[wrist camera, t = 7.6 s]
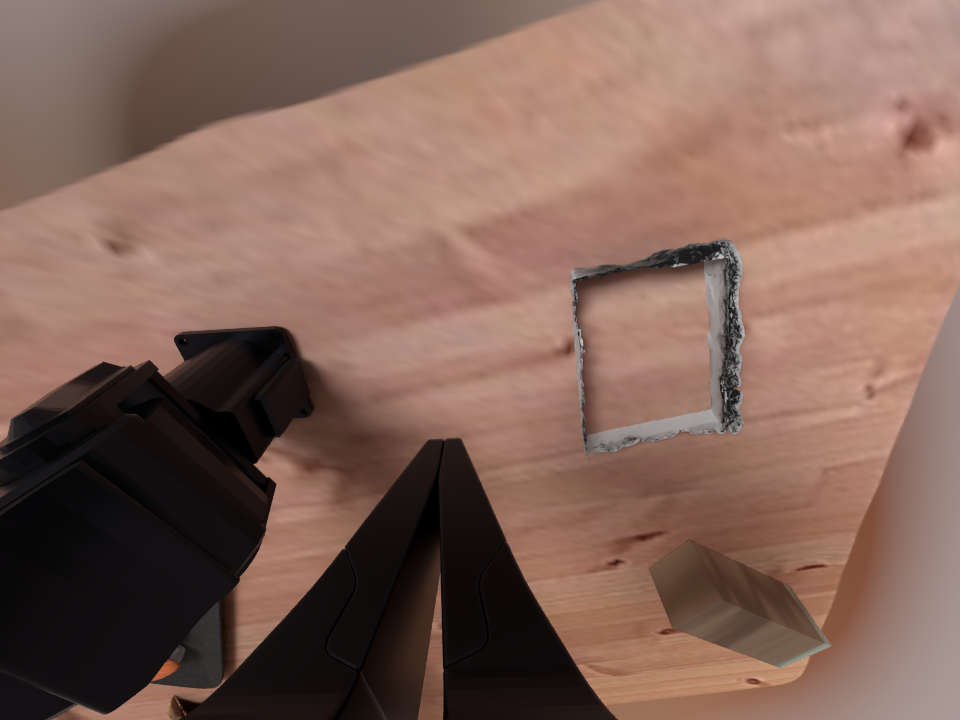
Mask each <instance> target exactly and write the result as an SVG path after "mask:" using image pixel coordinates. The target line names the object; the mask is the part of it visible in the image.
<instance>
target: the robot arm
mask: <svg viewBox="0 0 960 720" xmlns="http://www.w3.org/2000/svg"><path fill="white" fill-rule="evenodd" d="M274 333H276V334H278V335H279V338H278V337H276V336H275V335H274ZM184 339H185V340H186V341H187V342H188V343H187V342H185V341H184ZM174 341H175V344H176V346H177V348H178V349H179V351H180V353H181V355H182V357H183V359H184V362H183V363H182V364H180V365H179V366H178V367H176V368H175V369H173V370H172V371H171V372H169V373H168V374H167V375H165V376H164V377H163V376H162V375H161V374H160V373H159V372H158V370H159V369H158V368H157V367H156V366H155V365H154V364H153V363H152V362H151V361H150V360H148V361H146V362H144V363H141V364H139V365H137V366H135V367H132V366H131V365H130V366H128V367H125V366H123V367H120V366H117V365H113V364H109V363H106V362H103V363H100V364H98V365H96V366H94V367H92V368H91V369H89V370H87V371H85V372H84V373H82V374H80V375H79V376H77V377H75V378H73V379H72V380H70V381H68V382H66V383H65V384H63V385H61V386H60V387H58V388H56V389H55V390H53V391H52V392H50V393H48V394H47V395H45V396H44V397H42V398H41V399H40V400H38V401H37V402H35V403H34V404H32V405H31V406H29V407H28V408H26V409H25V410H24V411H22V412H21V413H19V414H18V415H16V416H15V417H13V418H12V419H11V422H10V427H9V432H8V436H7V438H5V439H4V440H3V441H2V442H1V443H0V720H51V719H53V718H54V717H56V716H58V715H60V714H62V713H63V712H65V711H67V710H69V709H71V708H72V707H74V706H76V705H78V704H79V705H81V706H84V707H86V708H89V709H91V710H94V711H96V712H98V713H101V714H108V713H110V712H112V711H114V710H116V709H117V708H118V707H120V706H121V705H122V704H124V703H125V702H126V701H128V700H129V699H130V698H132V697H133V696H134V695H136V694H137V693H138V692H140V691H141V690H142V689H144V688H145V687H146V686H147V685H148V684H149V683H150V682H151V681H152V680H153V678H154V677H155V676H156V675H157V673H158V672H159V671H160V669H161V668H162V667H163V665H164V664H165V663H166V661H167V660H168V659H169V657H170V656H171V655H172V653H173V652H174V651H175V650H176V648H177V647H178V646H179V644H180V643H181V642H182V641H183V639H184V638H185V637H186V636H187V634H188V633H189V632H190V631H191V629H192V628H193V627H194V626H195V625H196V624H197V623H198V622H199V621H200V619H201V618H202V617H203V616H204V615H205V614H206V613H207V612H208V611H209V610H210V609H211V608H212V607H213V606H214V605H215V604H216V603H217V602H218V601H219V600H220V599H222V598H223V597H224V596H225V595H226V594H227V593H228V592H230V591H231V590H232V589H233V588H234V587H235V586H236V585H237V584H238V583H239V581H240V578H239V577H240V576H241V575H242V574H243V573H244V572H245V570H246V569H247V568H248V566H249V565H250V564H251V562H252V561H253V559H254V558H255V556H256V554H257V552H258V550H259V548H260V545H261V543H262V539H263V538H264V536H265V532H266V524H267V520H268V516H269V512H270V508H271V504H272V500H273V496H274V492H275V488H276V483H275V482H274V481H273V480H272V479H271V478H270V477H268V478H267V477H266V476H265V475H264V474H263V473H262V472H261V471H260V470H259V469H258V468H257V467H255V466H254V465H253V464H255V463H257V462H258V460H259V459H260V458H261V456H262V455H263V453H264V452H265V450H266V449H267V447H268V446H269V445H270V443H271V442H272V440H273V439H274V437H280V436H281V435H282V434H283V432H284V431H285V429H286V428H287V427H288V425H289V424H290V422H291V421H292V419H293V418H306V417H309V416H311V414H312V412H313V410H314V407H313V405H312V402H311V399H310V396H309V394H310V392H309V389H308V386H307V383H306V381H305V378H304V375H303V372H302V370H301V367H300V364H299V362H298V360H297V359H296V358H295V355H294V353H293V350H292V347H291V344H290V342H289V339H288V336H287V333H286V332H285V330H284V329H282V328H281V327H278V326H271V327H255V328H238V329H222V330H206V331H189V332H181V333H180V334H178V335H177V336H175V337H174ZM303 409H306V410H307V411H305V410H303ZM345 549H346V550H345ZM345 549H343V550H342V551H341V552H340V553H339V555H338V556H337V557H336V558H335V560H334V561H333V562H332V564H331V565H330V566H329V567H328V569H327V570H326V571H325V572H324V573H323V575H322V576H321V577H320V578H319V580H318V581H317V582H316V583H315V584H314V586H313V587H312V588H311V589H310V590H309V591H308V592H307V594H306V595H305V596H304V597H303V598H302V599H301V600H300V601H299V603H298V604H297V605H296V606H295V607H294V608H293V609H292V610H291V612H290V613H289V614H288V615H287V616H286V617H285V618H284V619H283V620H282V621H281V622H280V623H279V624H278V626H277V627H276V628H275V629H274V630H273V631H272V632H271V633H270V634H269V635H268V636H267V637H266V638H265V640H264V641H263V642H262V643H261V644H260V645H259V646H258V647H257V648H256V649H255V650H254V651H253V652H252V654H251V655H250V656H249V657H248V658H247V659H246V660H245V661H244V662H243V663H242V664H241V665H240V666H239V668H238V669H237V670H236V671H235V672H234V673H233V674H232V675H231V676H230V677H229V678H228V679H227V680H226V681H225V682H224V683H223V684H222V685H221V686H220V687H219V688H218V689H217V690H216V691H215V692H214V693H213V694H212V695H210V696H209V697H208V698H207V699H206V700H205V701H203V702H202V703H201V704H200V705H198V706H197V707H196V708H195V709H193V710H192V711H191V712H189V713H188V714H187V715H185V716H184V717H182V718H181V719H179V720H418V714H419V707H420V701H421V694H422V688H423V681H424V674H425V668H426V661H427V655H428V648H429V642H430V635H431V629H432V622H433V616H434V609H435V602H436V596H437V589H438V583H439V576H440V570H441V605H442V643H443V669H444V673H443V681H444V712H443V720H618V719H617V718H616V717H615V716H614V715H613V714H612V713H611V712H610V711H609V710H608V709H607V707H606V706H605V705H604V704H603V703H602V701H601V700H600V699H599V697H598V696H597V695H596V693H595V692H594V691H593V689H592V688H591V687H590V685H589V684H588V682H587V681H586V679H585V678H584V676H583V675H582V673H581V672H580V670H579V669H578V667H577V666H576V664H575V662H574V661H573V659H572V657H571V656H570V654H569V653H568V651H567V649H566V648H565V646H564V644H563V643H562V641H561V639H560V638H559V636H558V635H557V633H556V631H555V630H554V628H553V626H552V625H551V623H550V621H549V620H548V618H547V617H546V615H545V613H544V612H543V610H542V608H541V607H540V605H539V604H538V602H537V600H536V598H535V596H534V595H533V593H532V591H531V589H530V588H529V586H528V584H527V582H526V581H525V579H524V577H523V575H522V572H521V570H520V568H519V566H518V564H517V562H516V560H515V558H514V556H513V554H512V551H511V549H510V547H509V545H508V543H507V541H506V538H505V536H504V534H503V532H502V529H501V527H500V525H499V523H498V520H497V518H496V516H495V513H494V511H493V509H492V507H491V504H490V502H489V500H488V498H487V495H486V493H485V491H484V489H483V486H482V484H481V482H480V480H479V477H478V475H477V473H476V471H475V468H474V466H473V464H472V462H471V459H470V457H469V455H468V453H467V450H466V448H465V446H464V443H463V441H462V439H460V438H448V439H446V440H445V441H444V440H443V439H430V440H428V441H427V442H426V443H425V444H424V446H423V447H422V448H421V449H420V451H419V452H418V453H417V455H416V456H415V457H414V458H413V460H412V461H411V462H410V464H409V465H408V466H407V467H406V469H405V470H404V471H403V473H402V474H401V475H400V476H399V478H398V479H397V480H396V482H395V483H394V484H393V485H392V487H391V488H390V489H389V491H388V492H387V493H386V494H385V496H384V497H383V498H382V500H381V501H380V502H379V503H378V505H377V506H376V507H375V509H374V510H373V511H372V512H371V514H370V515H369V516H368V518H367V519H366V520H365V521H364V523H363V524H362V525H361V527H360V528H359V529H358V530H357V532H356V533H355V534H354V536H353V537H352V538H351V539H350V541H349V542H348V543H347V545H346V546H345Z"/></svg>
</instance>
